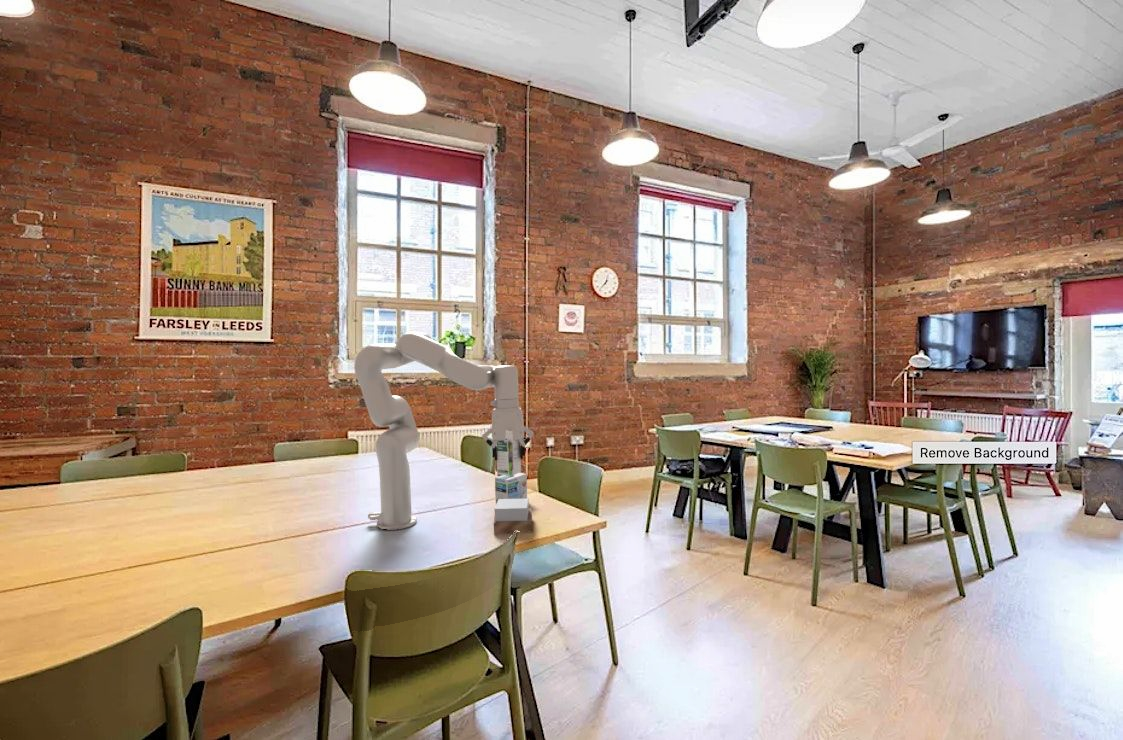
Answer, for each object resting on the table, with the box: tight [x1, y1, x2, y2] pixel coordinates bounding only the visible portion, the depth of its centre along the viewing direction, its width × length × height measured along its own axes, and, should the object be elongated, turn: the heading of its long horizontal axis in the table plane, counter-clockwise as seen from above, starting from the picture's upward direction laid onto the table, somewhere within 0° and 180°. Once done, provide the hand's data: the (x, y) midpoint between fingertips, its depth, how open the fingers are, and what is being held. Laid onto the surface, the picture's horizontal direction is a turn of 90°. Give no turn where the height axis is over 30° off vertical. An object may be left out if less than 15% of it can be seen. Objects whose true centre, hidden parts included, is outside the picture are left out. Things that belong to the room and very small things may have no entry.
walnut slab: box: [493, 507, 534, 535], centre depth 160 cm, size 12×12×4 cm
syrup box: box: [496, 430, 522, 476], centre depth 159 cm, size 6×6×14 cm
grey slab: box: [494, 497, 530, 522], centre depth 159 cm, size 10×10×4 cm
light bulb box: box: [494, 472, 528, 505], centre depth 182 cm, size 11×7×11 cm, turn 143°
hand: (508, 458), depth 159 cm, fingers closed on syrup box, 7 cm apart
